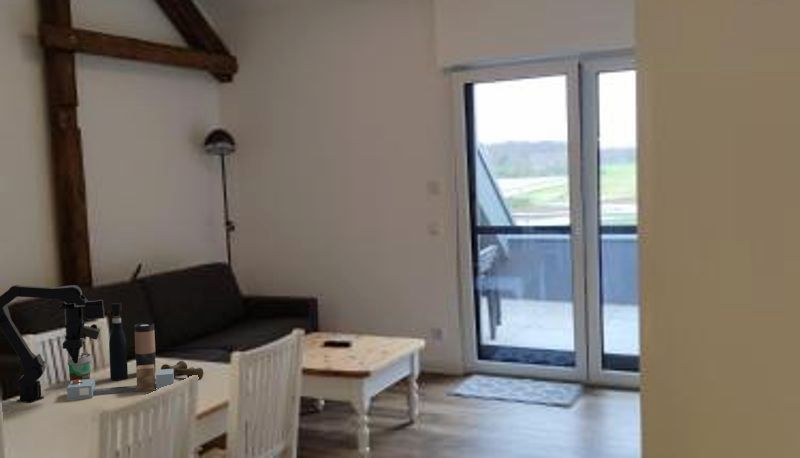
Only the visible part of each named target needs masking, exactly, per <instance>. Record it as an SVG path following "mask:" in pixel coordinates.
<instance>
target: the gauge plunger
mask: <svg viewBox="0 0 800 458" xmlns="http://www.w3.org/2000/svg"><path fill="white" fill-rule="evenodd" d="M78 384H81V380H73V385H78Z"/></svg>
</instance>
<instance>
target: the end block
mask: <svg viewBox="0 0 800 458" xmlns="http://www.w3.org/2000/svg"><path fill="white" fill-rule="evenodd" d="M173 383H174V384H175V374H174V369H164V370H161V369H156V372H155V384H156V387H157V389H159V388H161V387H164V386H167V385H171V384H173ZM157 389H156V390H157Z"/></svg>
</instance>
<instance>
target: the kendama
mask: <svg viewBox="0 0 800 458" xmlns="http://www.w3.org/2000/svg"><path fill="white" fill-rule="evenodd" d="M164 369H174V375H177V374H179V375H185V376H186V377H187V378H188V377H189V376H192V375H198V377H199V380H198V381H200V380H201V379H202V378H203V377H204V369H203V368H202V367H197V368H195V367H194V366H193V367H192V366H191V367H188V364H187V363H186V362H185V361H184V360H179V361H177V363H176V364H174V365H171V364H167V363H165V364H162V365H161V366H160V370H164Z"/></svg>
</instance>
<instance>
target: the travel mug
mask: <svg viewBox="0 0 800 458" xmlns="http://www.w3.org/2000/svg"><path fill="white" fill-rule="evenodd" d="M155 339H156V338H155V323H154V322H141V323H136V324H134V346H135V347H134V349H135V350H134V354H135V366H136V369H137V366H140V365H152V364H154V370H155V371H156V340H155Z"/></svg>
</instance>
